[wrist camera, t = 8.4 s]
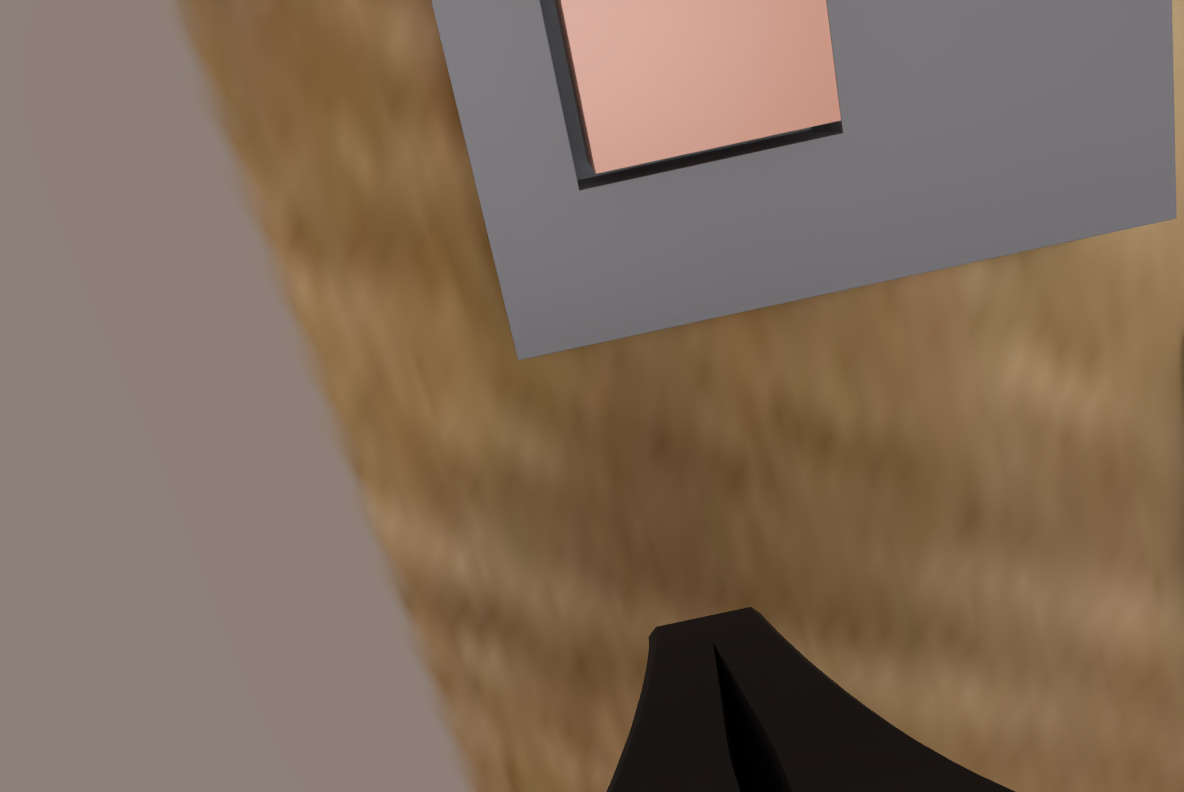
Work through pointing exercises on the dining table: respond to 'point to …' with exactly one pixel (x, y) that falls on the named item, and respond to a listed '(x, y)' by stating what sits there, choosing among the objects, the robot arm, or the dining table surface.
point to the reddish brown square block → (694, 74)
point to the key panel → (817, 162)
